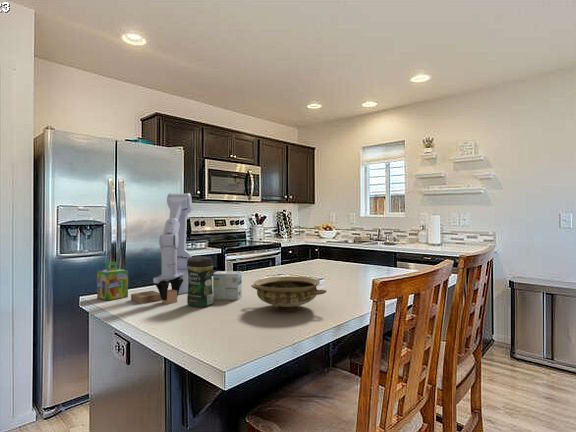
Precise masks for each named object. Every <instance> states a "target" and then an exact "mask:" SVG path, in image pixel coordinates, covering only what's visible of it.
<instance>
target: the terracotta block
mask: <svg viewBox="0 0 576 432" xmlns="http://www.w3.org/2000/svg"><path fill="white" fill-rule="evenodd" d="M161 302H162V303H164V304H166V305H169V304H175V303H178V297H177V291H176V290H173V289H172V288H171V289H168V290H167V300H161Z"/></svg>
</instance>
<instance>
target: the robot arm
mask: <svg viewBox="0 0 576 432" xmlns="http://www.w3.org/2000/svg"><path fill="white" fill-rule="evenodd" d="M192 199H193V198H192V194H191V193H190V192H188V193H171V192H169V193H168V194H167V196H166V204H167V207H168V209H169V218H168V219H167V220H166V221H165V224H164V227H163V232H162V234H161V235H160V236H159V239H158V241H159V242H158V243H159V252H160V253H161V274H160V275H159V276H156V277H153V284H154V285H155V286H156V288H157V290H158V293H160V296H161V300H160V301H162V300H167V290H169V285H170V287H171V289H173V290H176V291H177V298H178V297H179V295H181V294H186V293H187V294H188V270H187V261H188V259H189V257H193V256H192V254H191V252H189V251H188V250H187V249H186V247H187V221H188V219H187V218H188V214H190V213H191V212H192V207H193V200H192ZM167 281H169V282H167Z"/></svg>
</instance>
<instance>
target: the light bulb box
mask: <svg viewBox="0 0 576 432" xmlns="http://www.w3.org/2000/svg"><path fill="white" fill-rule="evenodd" d="M242 276H243V274H242V271H241V270H239V271H236V270H235V271H234V270H233V271H230V270H228V271H227V270H226V271H225V270H224V271H222V270H218V271H215V272H212V289H213V301H214V300H219V301H220V300H226V301H228V300H231V301H238V300H240V299H241V298H242V297H243V287H242V286H243V285H242V282H243V278H242Z"/></svg>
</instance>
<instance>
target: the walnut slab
mask: <svg viewBox="0 0 576 432" xmlns="http://www.w3.org/2000/svg"><path fill="white" fill-rule="evenodd" d="M131 300H132V302H134V301H135V302H134V303H136V302H137V303H136V304H139V305H142V303H143V304H148V303H153V302H154V303H155V302H159V301H162V300H161V296H160V293H159V291H155V290H149V291H142V292H134V293H131V294H130V301H131Z"/></svg>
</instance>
